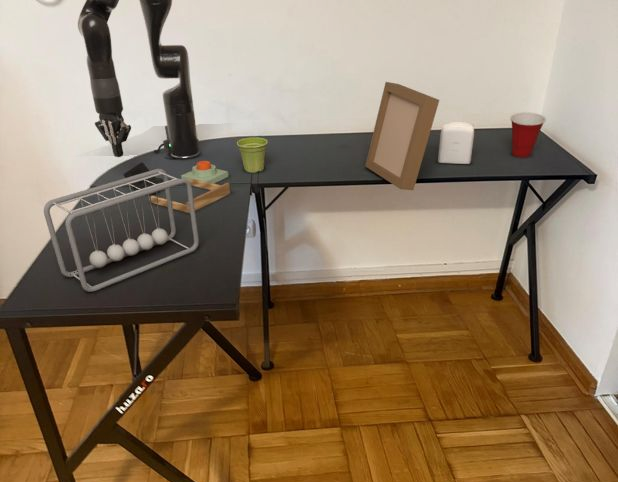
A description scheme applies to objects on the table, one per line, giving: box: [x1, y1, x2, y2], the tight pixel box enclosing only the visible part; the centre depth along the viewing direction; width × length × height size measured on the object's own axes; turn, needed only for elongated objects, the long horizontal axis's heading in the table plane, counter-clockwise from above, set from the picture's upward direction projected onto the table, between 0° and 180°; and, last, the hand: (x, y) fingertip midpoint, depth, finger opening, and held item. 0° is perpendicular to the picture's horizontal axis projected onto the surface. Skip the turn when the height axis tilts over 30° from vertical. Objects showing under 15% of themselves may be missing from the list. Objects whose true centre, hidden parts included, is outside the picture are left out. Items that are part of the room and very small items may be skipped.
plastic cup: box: [509, 111, 547, 158], centre depth 192 cm, size 11×11×12 cm
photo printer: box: [437, 121, 475, 165], centre depth 187 cm, size 10×4×12 cm, turn 78°
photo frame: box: [364, 81, 440, 191], centre depth 174 cm, size 15×22×25 cm
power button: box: [196, 160, 211, 170], centre depth 180 cm, size 4×4×2 cm
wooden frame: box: [150, 179, 231, 214], centre depth 169 cm, size 14×17×3 cm
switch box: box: [180, 163, 229, 184], centre depth 181 cm, size 10×10×4 cm
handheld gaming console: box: [123, 162, 172, 196], centre depth 176 cm, size 12×7×10 cm
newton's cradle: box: [43, 168, 200, 293], centre depth 132 cm, size 30×10×18 cm, turn 135°
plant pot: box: [236, 136, 268, 174], centre depth 186 cm, size 9×9×9 cm
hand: (118, 156), depth 177 cm, fingers closed
